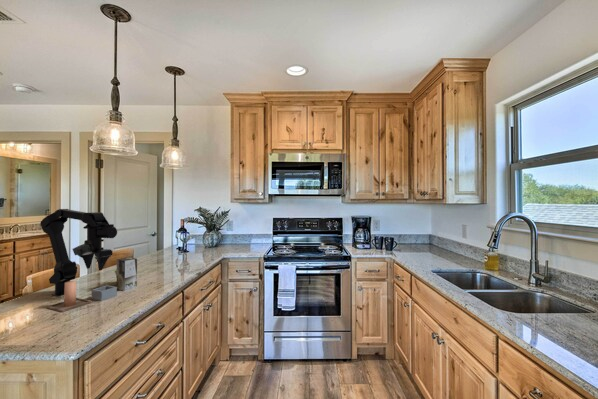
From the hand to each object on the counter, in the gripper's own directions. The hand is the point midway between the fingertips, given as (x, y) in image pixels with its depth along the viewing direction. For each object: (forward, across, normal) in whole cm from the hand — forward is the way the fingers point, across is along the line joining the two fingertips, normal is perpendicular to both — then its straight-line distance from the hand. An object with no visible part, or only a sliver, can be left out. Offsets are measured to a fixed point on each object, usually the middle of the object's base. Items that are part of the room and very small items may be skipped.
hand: (94, 269), depth 132 cm
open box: (+13, +9, -1) cm, 16 cm away
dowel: (+12, +5, -13) cm, 18 cm away
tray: (+13, +5, -13) cm, 19 cm away
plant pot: (+13, -4, +18) cm, 23 cm away
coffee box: (+13, +5, +13) cm, 19 cm away
